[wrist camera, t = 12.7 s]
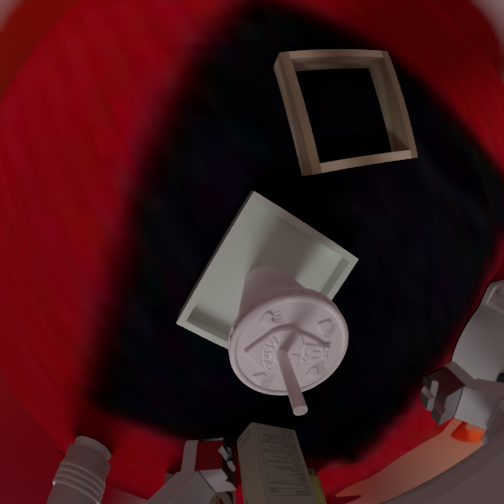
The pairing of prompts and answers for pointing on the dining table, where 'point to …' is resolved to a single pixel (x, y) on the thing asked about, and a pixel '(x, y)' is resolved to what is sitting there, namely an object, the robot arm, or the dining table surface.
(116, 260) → the dining table surface
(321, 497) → the sauce bottle
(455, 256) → the dining table surface
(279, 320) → the smoothie
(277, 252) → the tray
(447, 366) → the robot arm
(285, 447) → the skincare box
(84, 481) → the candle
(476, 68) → the dining table surface
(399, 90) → the frame
